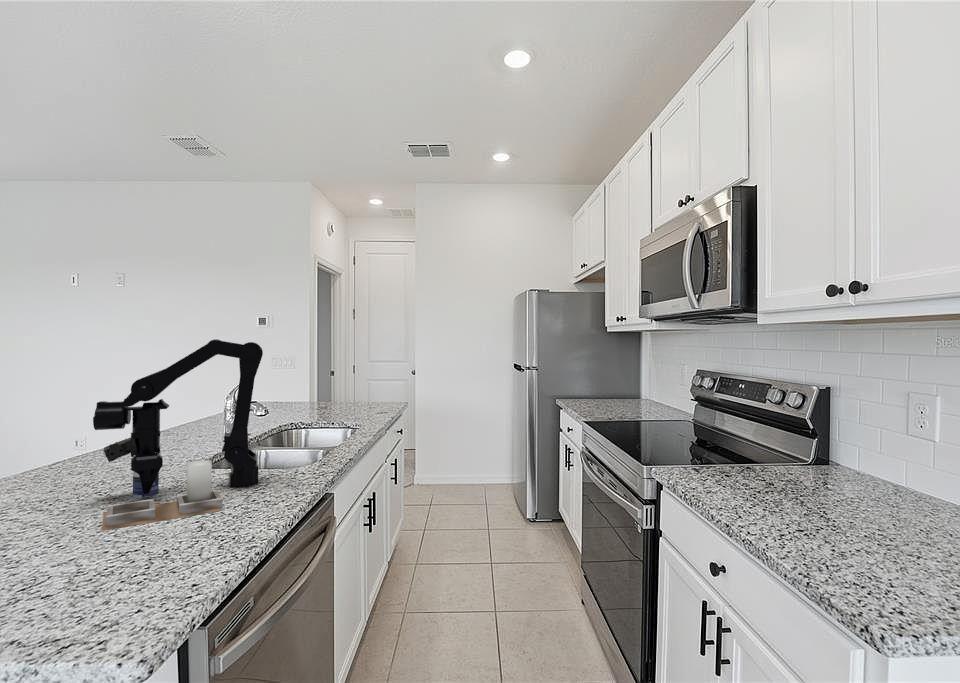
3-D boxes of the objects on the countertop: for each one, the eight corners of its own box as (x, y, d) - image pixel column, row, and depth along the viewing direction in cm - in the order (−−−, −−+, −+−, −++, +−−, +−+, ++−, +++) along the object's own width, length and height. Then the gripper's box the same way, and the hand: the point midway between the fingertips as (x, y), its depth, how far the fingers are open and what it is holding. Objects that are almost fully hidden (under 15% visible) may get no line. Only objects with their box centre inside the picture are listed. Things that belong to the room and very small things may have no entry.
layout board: (215, 501, 124) (215, 487, 124) (223, 516, 114) (223, 501, 114) (103, 518, 112) (103, 503, 112) (100, 538, 101) (101, 521, 101)
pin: (209, 500, 120) (210, 459, 120) (212, 506, 116) (212, 463, 116) (185, 504, 117) (186, 462, 117) (187, 510, 113) (188, 466, 113)
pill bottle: (145, 504, 122) (145, 464, 122) (127, 502, 123) (127, 463, 123) (163, 497, 127) (164, 459, 127) (145, 496, 128) (146, 457, 128)
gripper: (107, 424, 128) (107, 485, 128) (104, 437, 112) (103, 506, 112) (159, 421, 134) (158, 479, 134) (162, 432, 119) (162, 497, 119)
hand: (145, 489), depth 125 cm, fingers open, 7 cm apart
